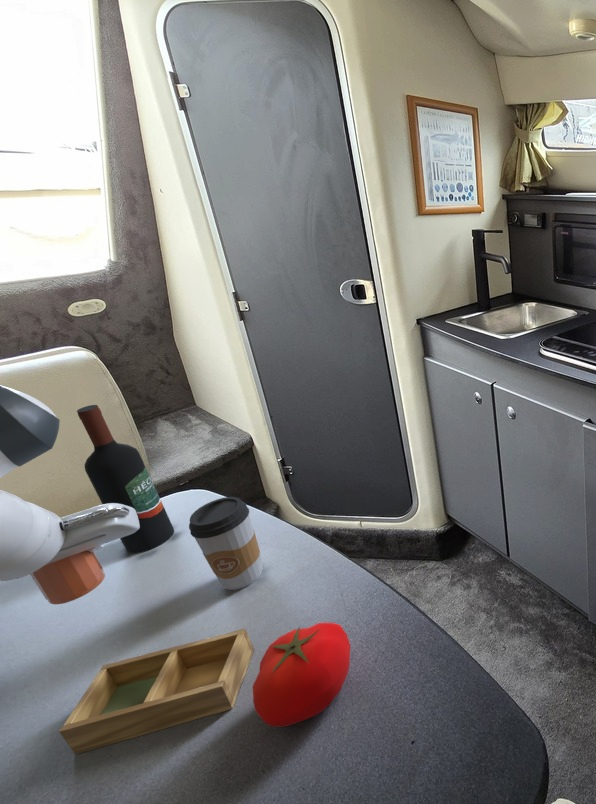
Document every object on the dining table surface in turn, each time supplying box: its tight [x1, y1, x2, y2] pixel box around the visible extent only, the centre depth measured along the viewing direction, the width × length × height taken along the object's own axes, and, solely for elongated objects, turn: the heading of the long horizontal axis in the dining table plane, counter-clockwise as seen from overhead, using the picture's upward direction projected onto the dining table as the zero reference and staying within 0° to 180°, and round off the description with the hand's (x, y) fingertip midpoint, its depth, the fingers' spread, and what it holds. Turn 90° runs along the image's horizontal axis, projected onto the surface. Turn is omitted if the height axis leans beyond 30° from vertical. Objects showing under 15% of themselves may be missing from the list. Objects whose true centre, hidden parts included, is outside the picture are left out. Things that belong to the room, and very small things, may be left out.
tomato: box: [252, 622, 352, 728], centre depth 67 cm, size 11×13×10 cm
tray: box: [58, 628, 255, 755], centre depth 68 cm, size 9×18×5 cm, turn 107°
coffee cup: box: [188, 496, 264, 591], centre depth 87 cm, size 8×8×15 cm
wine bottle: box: [76, 404, 175, 554], centre depth 94 cm, size 8×8×30 cm
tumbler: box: [29, 550, 106, 605], centre depth 72 cm, size 6×6×10 cm
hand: (61, 557), depth 73 cm, fingers closed on tumbler, 6 cm apart
